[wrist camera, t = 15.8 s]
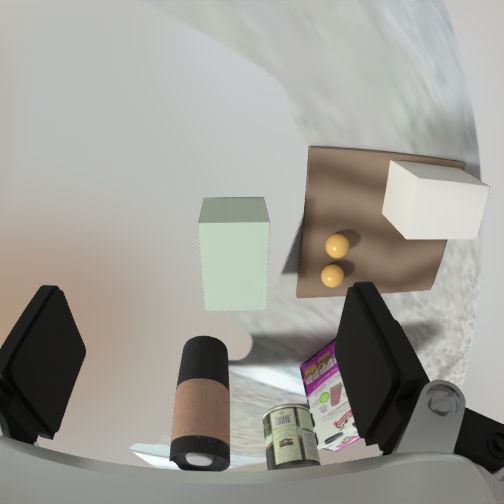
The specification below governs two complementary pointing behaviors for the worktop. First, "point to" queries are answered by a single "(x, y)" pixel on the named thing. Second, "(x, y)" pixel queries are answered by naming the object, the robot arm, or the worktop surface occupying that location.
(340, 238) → the marble
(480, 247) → the worktop surface
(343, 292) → the walnut board
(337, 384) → the candy bar box
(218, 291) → the pale green block
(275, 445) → the coffee can
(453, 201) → the white block
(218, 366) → the travel mug
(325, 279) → the marble
